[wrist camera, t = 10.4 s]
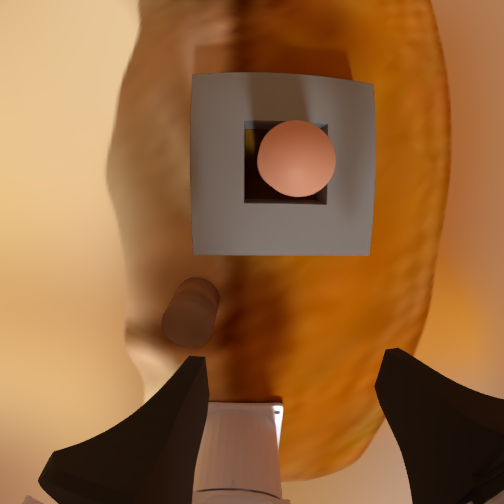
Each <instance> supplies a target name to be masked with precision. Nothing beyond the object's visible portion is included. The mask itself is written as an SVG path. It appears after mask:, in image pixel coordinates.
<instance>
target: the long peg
mask: <svg viewBox="0 0 504 504" xmlns="http://www.w3.org/2000/svg"><path fill="white" fill-rule="evenodd" d="M335 163H336V156H335V150H334V147H333V145H332V142H331V141H330V139H329V137H328V136H327V135H326V134H325V133H324V132H323V131H322V130H321V129H320V128H318V127H317V126H315V125H313V124H311V123H309V122H305V121H299V120H293V121H287V122H283V123H281V124H278V125H277V126H275V127H274V128H272V129H271V130H270V131H269V132H268V133H267V134H266V136H265V137H264V139H263V140H262V142H261V145H260V148H259V152H258V157H257V170H258V173H259V175H260V176H261V178H262V179H263V180H264V181H265V182H266V183H267V184H269V185H270V186H271V187H273V188H274V189H275V190H277V191H278V192H280V193H282V194H285V195H288V196H293V197H304V196H309V195H312V194H314V193H316V192H318V191H319V190H321V189H322V188H323V187H324V186H325V185H326V184H327V183H328V182H329V180H330V179H331V177H332V175H333V172H334V169H335Z"/></svg>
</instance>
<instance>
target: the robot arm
mask: <svg viewBox="0 0 504 504" xmlns="http://www.w3.org/2000/svg"><path fill="white" fill-rule="evenodd" d="M375 390H376V393H377V397H378V400H379V403H380V406H381V408H382V410H383V413H384V415H385V417H386V419H387V421H388V423H389V425H390V427H391V429H392V432H393V434H394V436H395V438H396V440H397V442H398V445H399V447H400V450H401V452H402V456H403V459H404V463H405V466H406V470H407V475H408V479H409V484H410V489H411V496H412V502H413V504H504V399H500V398H495V397H492V396H489V395H485V394H482V393H479V392H477V391H474V390H472V389H469V388H467V387H465V386H462V385H460V384H458V383H456V382H454V381H452V380H451V379H449V378H447V377H445V376H443V375H442V374H440V373H438V372H437V371H435V370H433V369H432V368H430V367H429V366H427V365H425V364H424V363H422V362H421V361H419V360H417V359H416V358H414V357H413V356H411V355H410V354H408V353H406V352H405V351H403V350H401V349H399V348H394V349H386V350H385V353H384V357H383V360H382V364H381V367H380V370H379V374H378V377H377V380H376V383H375ZM282 416H283V404H281V403H222V402H209V387H208V379H207V370H206V361H205V357H198V356H189V357H188V358H187V359H186V360H185V361H184V363H183V364H182V365H181V366H180V367H179V369H178V370H177V371H176V372H175V373H174V375H173V376H172V377H171V378H170V379H169V380H168V381H167V382H166V383H165V385H164V386H163V387H162V388H161V389H160V390H159V391H158V392H157V393H156V394H155V395H154V396H153V397H152V398H151V399H149V400H148V401H147V402H146V403H145V404H144V405H143V406H142V407H140V408H139V409H138V410H137V411H136V412H134V413H133V414H132V415H130V416H129V417H128V418H126V419H125V420H123V421H122V422H120V423H119V424H117V425H115V426H114V427H112V428H110V429H109V430H107V431H105V432H103V433H101V434H99V435H97V436H95V437H93V438H91V439H89V440H86V441H84V442H82V443H79V444H77V445H73V446H70V447H68V448H64V449H61V450H58V451H54V452H53V454H52V455H51V457H50V458H49V460H48V462H47V464H46V466H45V467H44V469H43V471H42V473H41V475H40V477H39V479H38V482H39V484H40V486H41V487H42V488H43V490H44V491H45V492H46V493H47V494H48V495H50V496H51V497H52V498H53V499H54V500H55V501H56V502H57V503H58V504H290V500H284V499H282V489H281V478H280V466H279V454H278V448H279V441H280V433H281V425H282ZM23 504H43V503H41V502H39V501H38V500H36V499H34V498H32V497H31V496H26V498H25V500H24V502H23Z"/></svg>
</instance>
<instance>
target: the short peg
mask: <svg viewBox="0 0 504 504" xmlns="http://www.w3.org/2000/svg"><path fill="white" fill-rule="evenodd" d="M218 305H219V294H218V291H217V289H216V288H215V287H214V285H213V284H211V283H210V282H209V281H207V280H205V279H201V278H191V279H188V280H186V281H184V282H183V283H182V284H181V285H180V287H179V288H178V290H177V292H176V294H175V295H174V297H173V299H172V300H171V302H170V304H169V306H168V307H167V309H166V311H165V313H164V314H163V317H162V329H163V331H164V333H165V335H166V336H167V338H168V339H169V340H170V341H172V342H173V343H174V344H176V345H178V346H181V347H184V348H197V347H200V346H202V345H204V344H205V343H206V342H207V341H208V340H209V339H210V337H211V334H212V330H213V326H214V322H215V317H216V313H217V309H218Z"/></svg>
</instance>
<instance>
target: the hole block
mask: <svg viewBox="0 0 504 504" xmlns="http://www.w3.org/2000/svg"><path fill="white" fill-rule="evenodd" d="M293 120H299V121H305V122H309V123H311V124H313V125H315V126H317V127H318V128H320V129H321V130H322V131H323V132H324V133H325V134H326V135H327V136H328V137H329V139H330V141H331V142H332V145H333V147H334V150H335V156H336V163H335V169H334V172H333V175H332V177H331V179H330V180H329V182H328V183H327V184H326V185H325V186H324V187H323V188H322V189H321V190H319V191H318V192H316V193H315V200H312V199H264V198H245V129H272V128H274V127H275V126H277V125H278V124H281V123H283V122H287V121H293ZM375 163H376V132H375V103H374V87H373V84H370V83H364V82H359V81H353V80H346V79H339V78H332V77H324V76H314V75H303V74H290V73H268V72H230V73H208V74H194V75H192V92H191V131H190V180H191V220H192V244H193V255H369V254H370V245H371V235H372V223H373V210H374V193H375Z"/></svg>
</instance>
